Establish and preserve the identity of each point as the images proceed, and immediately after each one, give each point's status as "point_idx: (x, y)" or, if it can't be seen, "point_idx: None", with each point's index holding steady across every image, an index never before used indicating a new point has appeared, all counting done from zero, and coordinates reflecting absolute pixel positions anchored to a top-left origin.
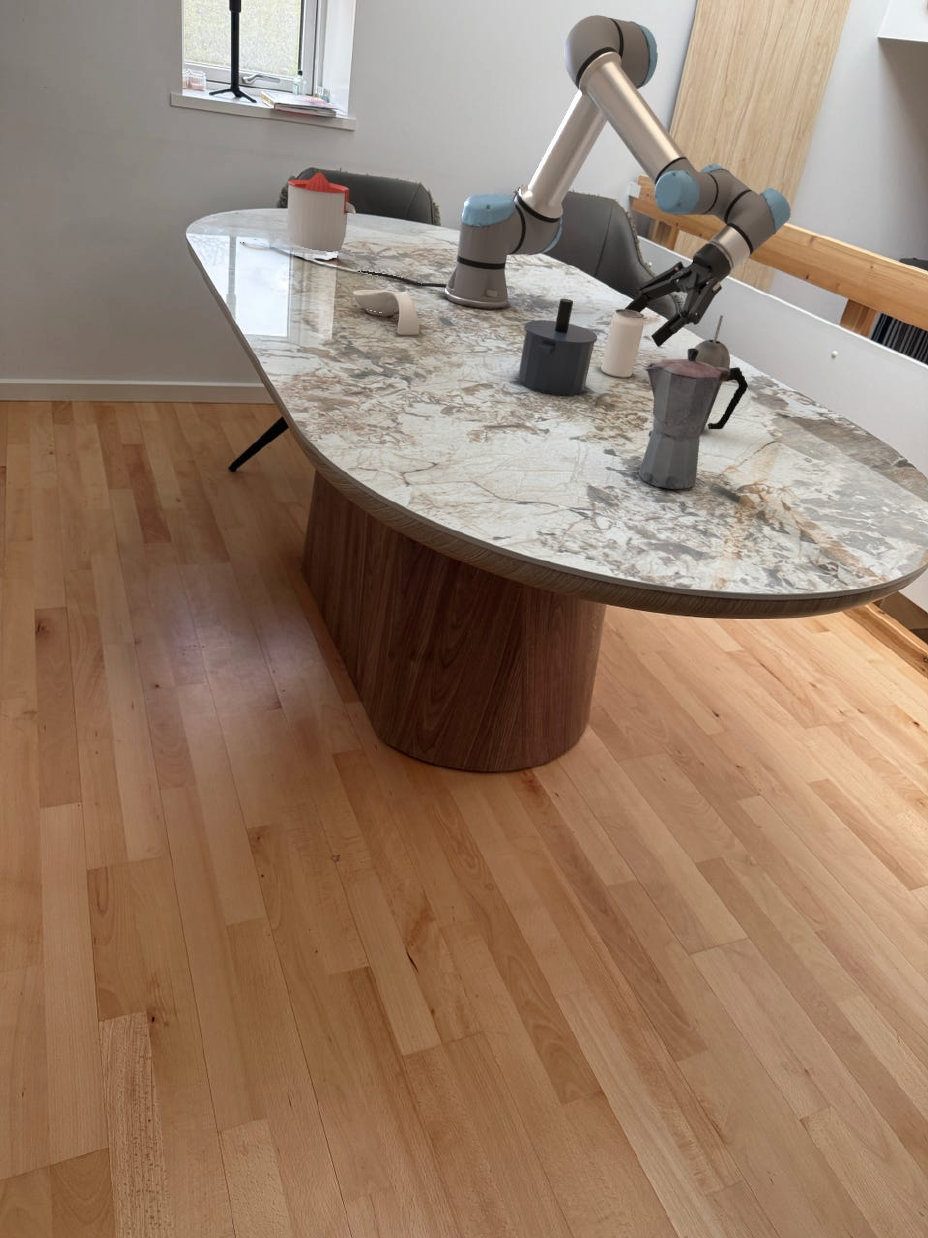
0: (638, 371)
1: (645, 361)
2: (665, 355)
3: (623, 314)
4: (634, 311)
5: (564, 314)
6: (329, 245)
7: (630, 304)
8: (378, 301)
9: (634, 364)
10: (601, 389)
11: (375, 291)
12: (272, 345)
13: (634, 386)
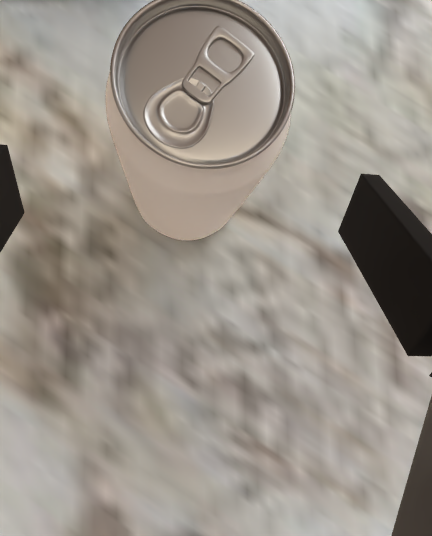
0: (204, 290)
1: (308, 387)
2: (378, 519)
3: (206, 42)
4: (256, 149)
5: None
6: None
7: (415, 226)
8: None
9: (144, 216)
10: (31, 38)
11: None
12: None
13: (54, 177)
